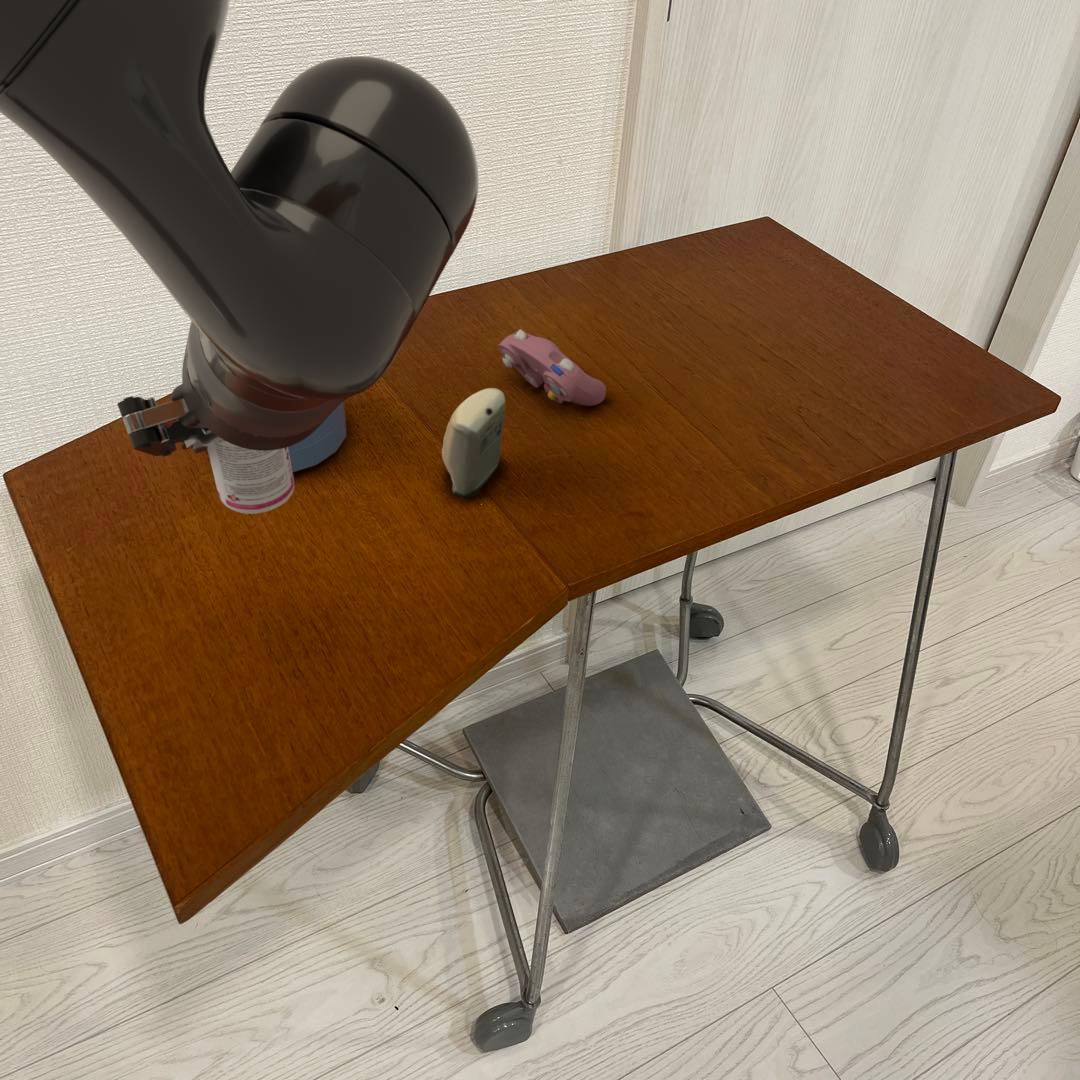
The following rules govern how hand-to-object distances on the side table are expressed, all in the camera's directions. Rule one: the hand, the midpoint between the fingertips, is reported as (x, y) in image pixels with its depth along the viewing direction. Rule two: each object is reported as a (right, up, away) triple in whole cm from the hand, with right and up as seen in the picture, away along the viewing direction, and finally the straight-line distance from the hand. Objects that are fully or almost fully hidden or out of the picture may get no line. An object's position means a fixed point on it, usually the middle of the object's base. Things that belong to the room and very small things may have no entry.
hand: (237, 423), depth 63 cm
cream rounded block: (+13, -2, +21) cm, 25 cm away
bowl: (-3, +2, +24) cm, 25 cm away
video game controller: (+20, +6, +31) cm, 37 cm away
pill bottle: (+1, -4, +2) cm, 5 cm away
